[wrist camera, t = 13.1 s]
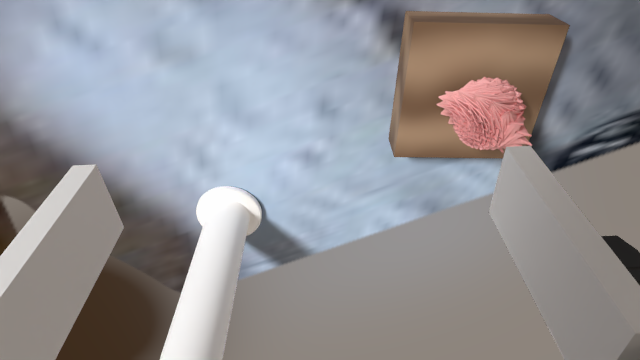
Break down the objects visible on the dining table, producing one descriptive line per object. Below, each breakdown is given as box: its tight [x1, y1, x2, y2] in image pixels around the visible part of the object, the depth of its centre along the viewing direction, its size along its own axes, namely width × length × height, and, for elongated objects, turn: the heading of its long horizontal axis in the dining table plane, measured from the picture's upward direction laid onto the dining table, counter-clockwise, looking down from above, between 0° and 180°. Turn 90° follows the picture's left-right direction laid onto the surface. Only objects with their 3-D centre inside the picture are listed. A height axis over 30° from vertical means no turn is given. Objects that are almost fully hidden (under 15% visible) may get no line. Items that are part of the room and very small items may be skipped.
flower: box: [436, 77, 532, 153], centre depth 33 cm, size 8×8×6 cm
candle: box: [160, 186, 262, 360], centre depth 36 cm, size 7×7×25 cm
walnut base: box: [389, 11, 570, 158], centre depth 37 cm, size 12×12×4 cm
